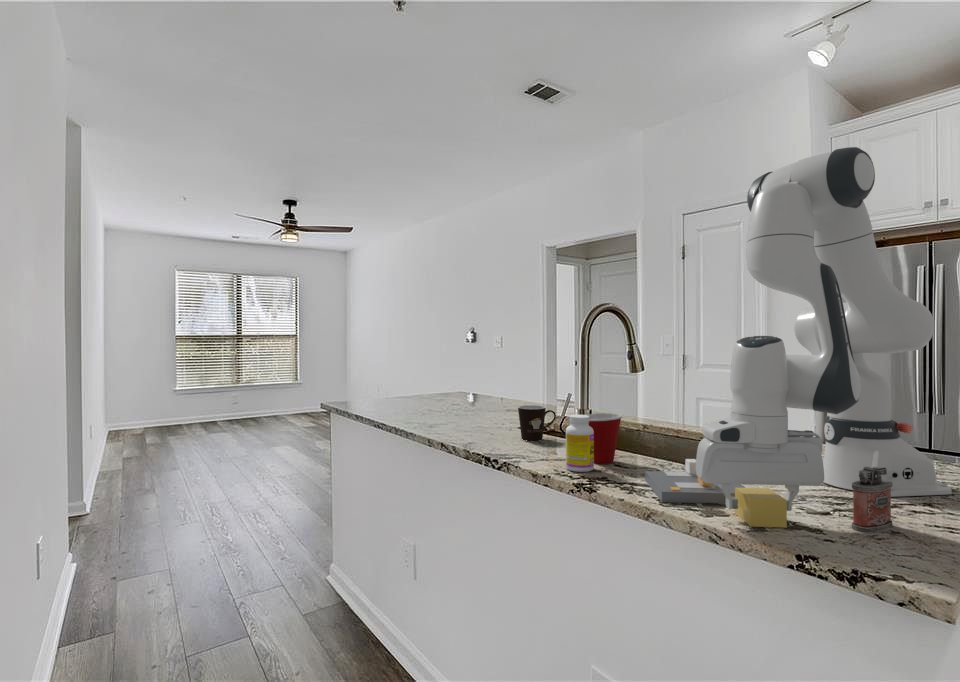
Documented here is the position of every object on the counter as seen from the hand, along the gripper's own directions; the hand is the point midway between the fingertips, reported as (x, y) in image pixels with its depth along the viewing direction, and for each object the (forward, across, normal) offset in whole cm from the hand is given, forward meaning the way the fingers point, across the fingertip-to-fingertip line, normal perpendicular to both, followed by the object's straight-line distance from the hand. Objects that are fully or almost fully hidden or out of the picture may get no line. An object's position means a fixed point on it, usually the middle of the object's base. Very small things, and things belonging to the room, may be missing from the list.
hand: (758, 509), depth 90 cm
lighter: (+2, -17, +2) cm, 18 cm away
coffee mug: (+2, +38, -66) cm, 76 cm away
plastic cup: (+2, +22, -40) cm, 46 cm away
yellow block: (+2, 0, 0) cm, 2 cm away
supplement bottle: (+2, +28, -32) cm, 42 cm away
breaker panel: (+2, +6, -16) cm, 17 cm away
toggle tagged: (-1, +5, -13) cm, 14 cm away
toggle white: (-1, +5, -21) cm, 22 cm away
